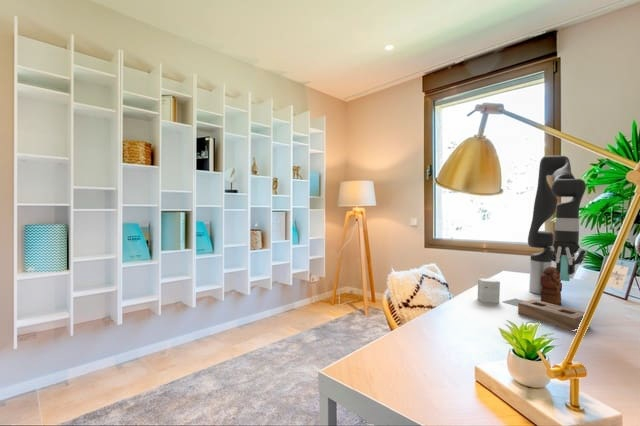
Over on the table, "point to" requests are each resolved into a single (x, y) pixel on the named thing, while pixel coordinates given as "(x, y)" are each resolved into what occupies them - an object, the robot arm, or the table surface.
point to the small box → (488, 290)
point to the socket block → (551, 314)
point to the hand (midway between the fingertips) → (565, 273)
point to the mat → (513, 302)
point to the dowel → (564, 268)
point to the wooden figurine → (551, 286)
